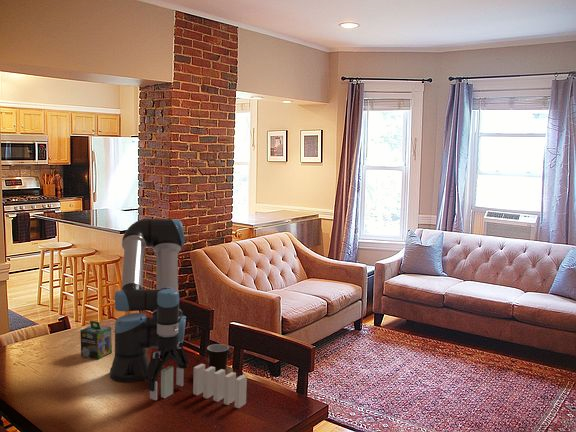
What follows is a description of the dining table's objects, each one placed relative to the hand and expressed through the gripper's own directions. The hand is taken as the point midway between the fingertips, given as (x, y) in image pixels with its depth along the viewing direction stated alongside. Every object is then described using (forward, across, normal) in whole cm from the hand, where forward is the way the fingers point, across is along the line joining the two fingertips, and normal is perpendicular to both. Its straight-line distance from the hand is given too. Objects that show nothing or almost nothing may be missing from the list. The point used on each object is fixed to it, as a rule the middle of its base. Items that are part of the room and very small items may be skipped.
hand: (167, 392), depth 189 cm
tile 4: (+1, +8, -17) cm, 19 cm away
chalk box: (+1, +13, +51) cm, 53 cm away
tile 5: (+1, +8, -22) cm, 23 cm away
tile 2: (+1, +8, -8) cm, 11 cm away
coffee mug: (+1, +28, -2) cm, 28 cm away
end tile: (+1, 0, 0) cm, 1 cm away
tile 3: (+1, +8, -12) cm, 15 cm away
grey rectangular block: (+1, +8, -26) cm, 27 cm away
